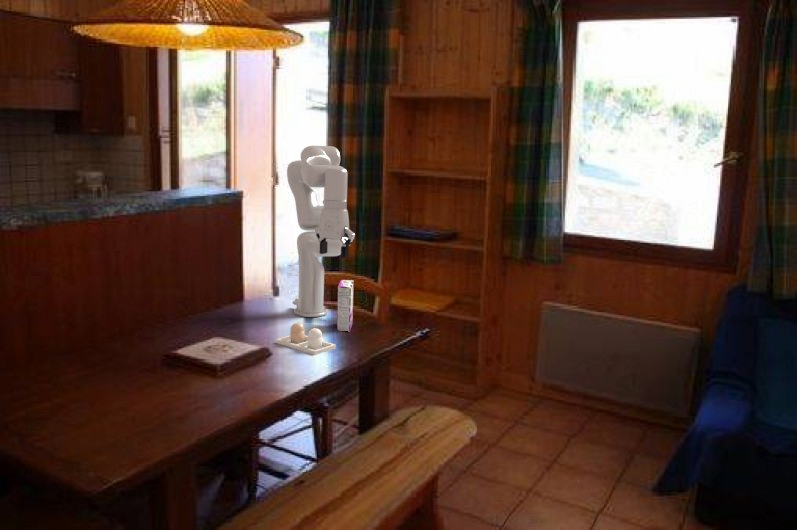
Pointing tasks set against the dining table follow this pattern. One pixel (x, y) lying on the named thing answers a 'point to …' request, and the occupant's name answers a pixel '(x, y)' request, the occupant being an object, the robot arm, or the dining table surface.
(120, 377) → the dining table surface
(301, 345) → the caddy
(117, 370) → the dining table surface
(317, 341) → the white egg
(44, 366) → the dining table surface
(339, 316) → the candy bar box
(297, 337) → the brown egg
